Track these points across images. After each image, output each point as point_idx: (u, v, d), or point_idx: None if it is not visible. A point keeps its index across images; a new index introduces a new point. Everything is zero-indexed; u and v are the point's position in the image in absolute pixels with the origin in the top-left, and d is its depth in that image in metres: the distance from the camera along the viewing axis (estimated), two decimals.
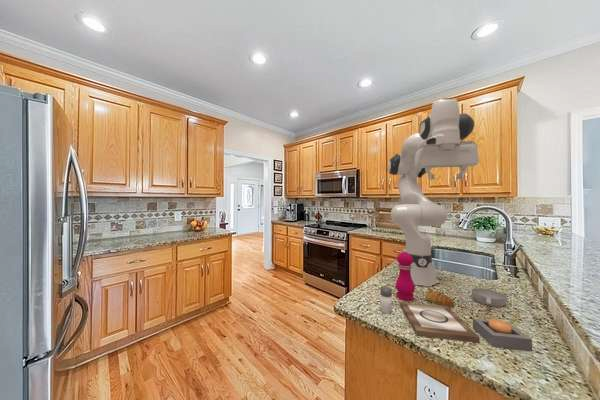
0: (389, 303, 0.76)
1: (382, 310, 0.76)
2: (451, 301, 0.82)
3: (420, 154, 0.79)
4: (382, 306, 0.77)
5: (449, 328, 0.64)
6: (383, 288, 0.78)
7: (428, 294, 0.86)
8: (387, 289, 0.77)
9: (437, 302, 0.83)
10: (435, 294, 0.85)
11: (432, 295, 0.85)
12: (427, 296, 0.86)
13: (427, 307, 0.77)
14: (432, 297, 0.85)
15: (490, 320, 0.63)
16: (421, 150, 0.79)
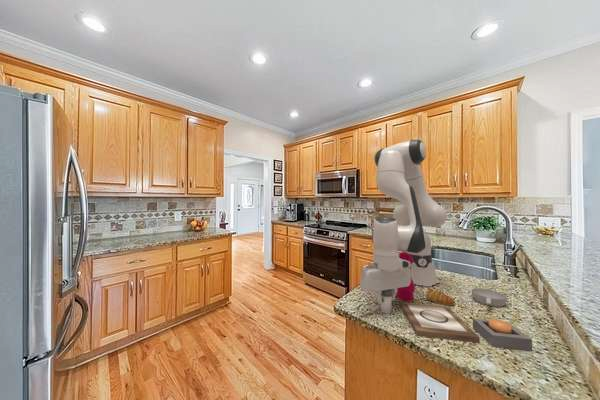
0: (389, 303, 0.76)
1: (382, 310, 0.76)
2: (451, 300, 0.82)
3: None
4: (382, 306, 0.77)
5: (449, 328, 0.64)
6: None
7: (429, 293, 0.87)
8: None
9: (438, 301, 0.84)
10: (436, 293, 0.86)
11: (433, 294, 0.86)
12: (428, 295, 0.87)
13: (427, 307, 0.77)
14: (432, 296, 0.85)
15: (490, 320, 0.63)
16: None
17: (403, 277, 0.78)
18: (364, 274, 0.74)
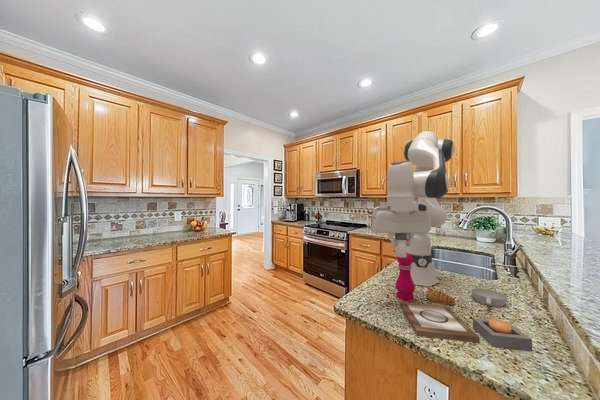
0: (403, 246, 0.74)
1: (396, 254, 0.75)
2: (452, 299, 0.83)
3: None
4: (396, 250, 0.75)
5: (449, 328, 0.64)
6: (398, 233, 0.76)
7: (429, 293, 0.88)
8: (402, 233, 0.75)
9: (438, 301, 0.84)
10: (436, 293, 0.86)
11: (433, 294, 0.86)
12: (428, 295, 0.87)
13: (427, 307, 0.77)
14: (433, 296, 0.86)
15: (490, 320, 0.63)
16: None
17: (420, 222, 0.75)
18: (374, 215, 0.75)
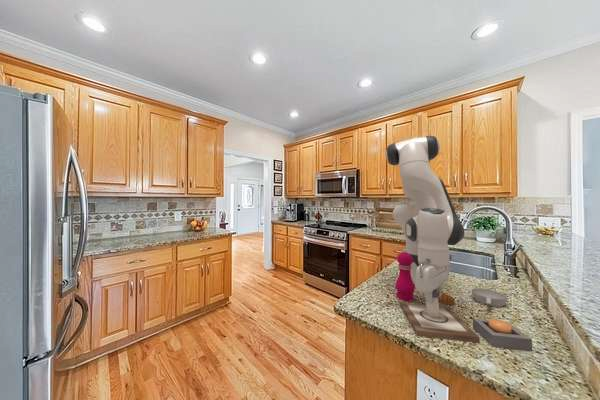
0: (438, 305, 0.70)
1: (431, 314, 0.69)
2: (452, 299, 0.84)
3: None
4: (431, 310, 0.70)
5: (449, 328, 0.64)
6: None
7: None
8: None
9: (438, 300, 0.85)
10: None
11: None
12: None
13: None
14: None
15: (490, 320, 0.63)
16: None
17: (445, 271, 0.74)
18: (423, 273, 0.64)
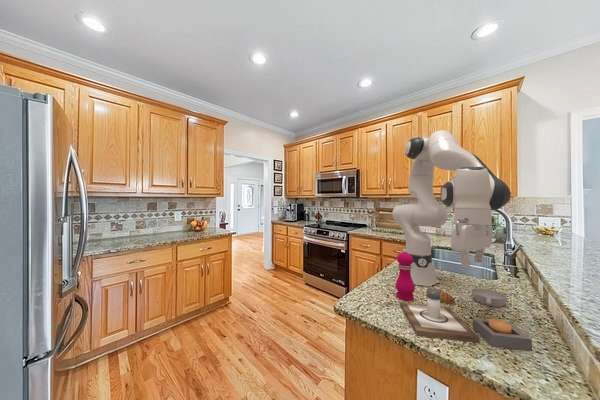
0: (439, 306, 0.69)
1: (432, 315, 0.69)
2: (452, 298, 0.84)
3: None
4: (432, 310, 0.69)
5: (449, 328, 0.64)
6: (430, 290, 0.71)
7: None
8: (435, 291, 0.71)
9: None
10: None
11: None
12: None
13: None
14: None
15: (490, 320, 0.63)
16: None
17: (487, 236, 0.68)
18: (459, 230, 0.60)
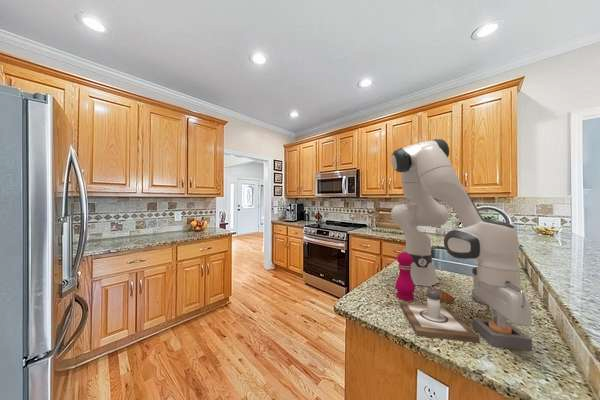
0: (439, 306, 0.69)
1: (432, 315, 0.69)
2: (452, 297, 0.85)
3: (473, 282, 0.71)
4: (432, 311, 0.69)
5: (449, 328, 0.64)
6: (430, 290, 0.71)
7: None
8: (435, 291, 0.70)
9: None
10: None
11: None
12: None
13: None
14: None
15: (490, 322, 0.63)
16: (473, 277, 0.71)
17: None
18: None
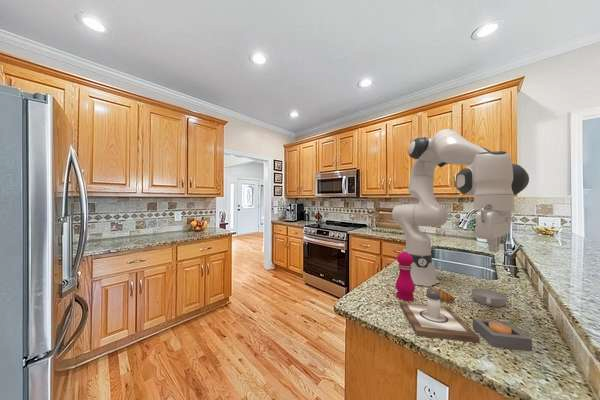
0: (439, 306, 0.69)
1: (432, 315, 0.69)
2: (451, 297, 0.86)
3: None
4: (432, 311, 0.69)
5: (449, 328, 0.64)
6: (430, 290, 0.71)
7: None
8: (435, 291, 0.71)
9: None
10: None
11: None
12: None
13: None
14: None
15: (490, 323, 0.63)
16: None
17: (506, 222, 0.66)
18: (485, 217, 0.58)
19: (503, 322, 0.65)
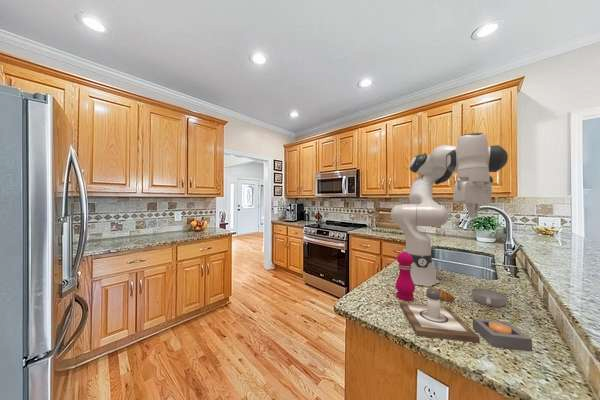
0: (439, 306, 0.69)
1: (432, 315, 0.69)
2: (451, 296, 0.86)
3: None
4: (432, 311, 0.69)
5: (449, 328, 0.64)
6: (430, 290, 0.71)
7: None
8: (435, 291, 0.71)
9: None
10: None
11: None
12: None
13: None
14: None
15: (490, 323, 0.63)
16: None
17: (486, 193, 0.78)
18: (460, 185, 0.71)
19: (503, 322, 0.65)
